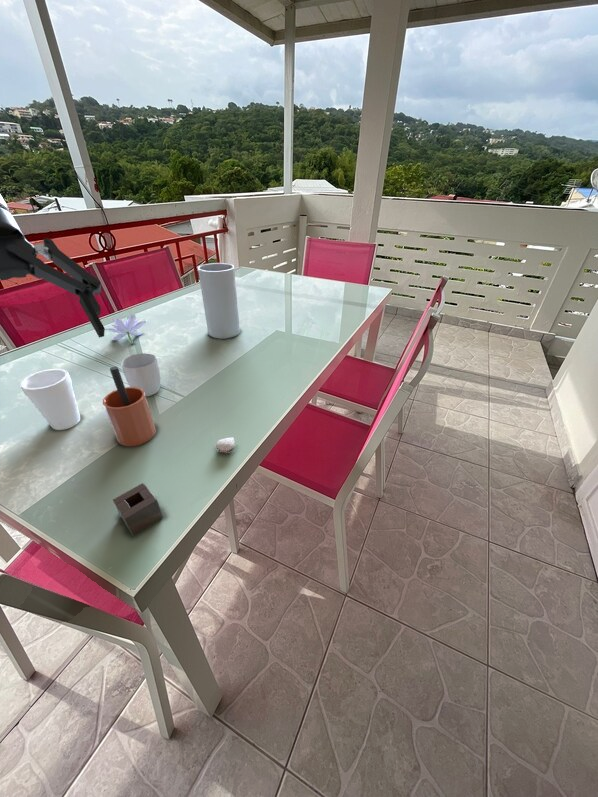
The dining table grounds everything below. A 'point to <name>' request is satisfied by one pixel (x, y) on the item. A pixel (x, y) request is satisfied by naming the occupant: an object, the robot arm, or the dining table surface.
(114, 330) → the water lily
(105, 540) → the dining table surface
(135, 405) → the tumbler
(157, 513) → the holder
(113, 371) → the rod
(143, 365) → the mug
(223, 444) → the white seashell
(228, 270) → the cylinder vase
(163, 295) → the dining table surface
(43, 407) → the foam cup
